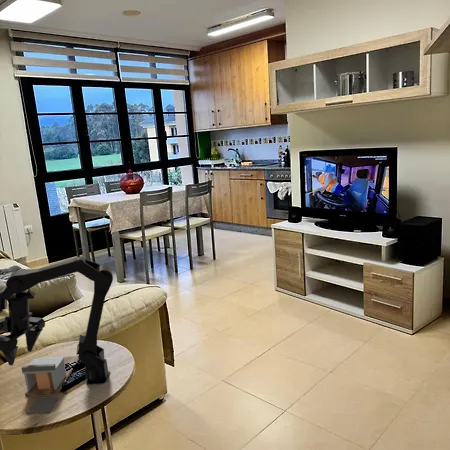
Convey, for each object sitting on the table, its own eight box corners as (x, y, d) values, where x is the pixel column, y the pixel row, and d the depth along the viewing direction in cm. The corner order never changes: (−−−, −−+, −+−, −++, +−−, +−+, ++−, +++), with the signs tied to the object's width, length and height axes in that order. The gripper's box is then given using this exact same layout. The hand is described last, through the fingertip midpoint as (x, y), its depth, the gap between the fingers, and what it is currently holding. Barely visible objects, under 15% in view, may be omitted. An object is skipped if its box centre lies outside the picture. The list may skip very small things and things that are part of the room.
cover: (67, 374, 144) (63, 352, 142) (57, 389, 135) (53, 365, 134) (37, 376, 144) (33, 354, 142) (26, 391, 136) (21, 367, 134)
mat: (58, 398, 133) (58, 396, 133) (49, 412, 126) (49, 411, 126) (37, 399, 133) (36, 397, 133) (26, 413, 126) (26, 412, 126)
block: (57, 381, 142) (53, 364, 141) (50, 390, 137) (47, 372, 136) (45, 382, 143) (42, 364, 141) (38, 391, 138) (35, 373, 136)
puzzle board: (81, 358, 156) (81, 355, 156) (57, 394, 135) (56, 391, 135) (53, 359, 157) (53, 357, 157) (25, 396, 135) (24, 393, 135)
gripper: (14, 298, 141) (16, 342, 144) (-27, 320, 123) (-24, 369, 126) (45, 302, 140) (46, 346, 142) (8, 324, 122) (10, 374, 124)
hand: (20, 358), depth 134 cm, fingers open, 9 cm apart
